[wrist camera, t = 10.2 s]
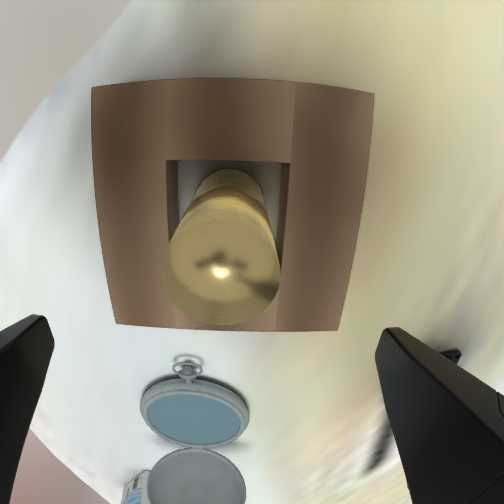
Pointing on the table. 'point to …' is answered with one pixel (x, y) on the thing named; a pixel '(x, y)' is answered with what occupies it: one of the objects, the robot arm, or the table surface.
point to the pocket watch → (194, 440)
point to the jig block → (240, 149)
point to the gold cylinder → (223, 253)
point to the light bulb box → (136, 490)
